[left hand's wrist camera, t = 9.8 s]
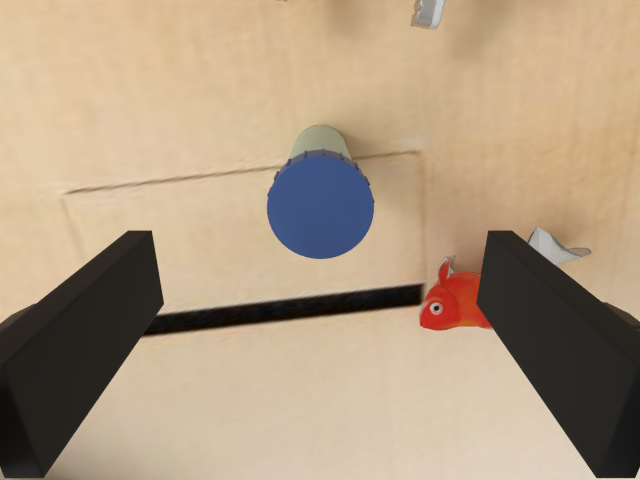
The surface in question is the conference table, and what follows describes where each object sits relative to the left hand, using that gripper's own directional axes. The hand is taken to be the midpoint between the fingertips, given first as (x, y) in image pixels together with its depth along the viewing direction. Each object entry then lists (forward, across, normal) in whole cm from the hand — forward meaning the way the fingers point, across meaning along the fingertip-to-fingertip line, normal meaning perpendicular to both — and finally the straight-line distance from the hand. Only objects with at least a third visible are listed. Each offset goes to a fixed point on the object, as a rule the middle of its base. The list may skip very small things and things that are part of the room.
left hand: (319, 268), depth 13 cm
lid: (+7, 0, 0) cm, 7 cm away
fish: (+23, +16, -10) cm, 30 cm away
